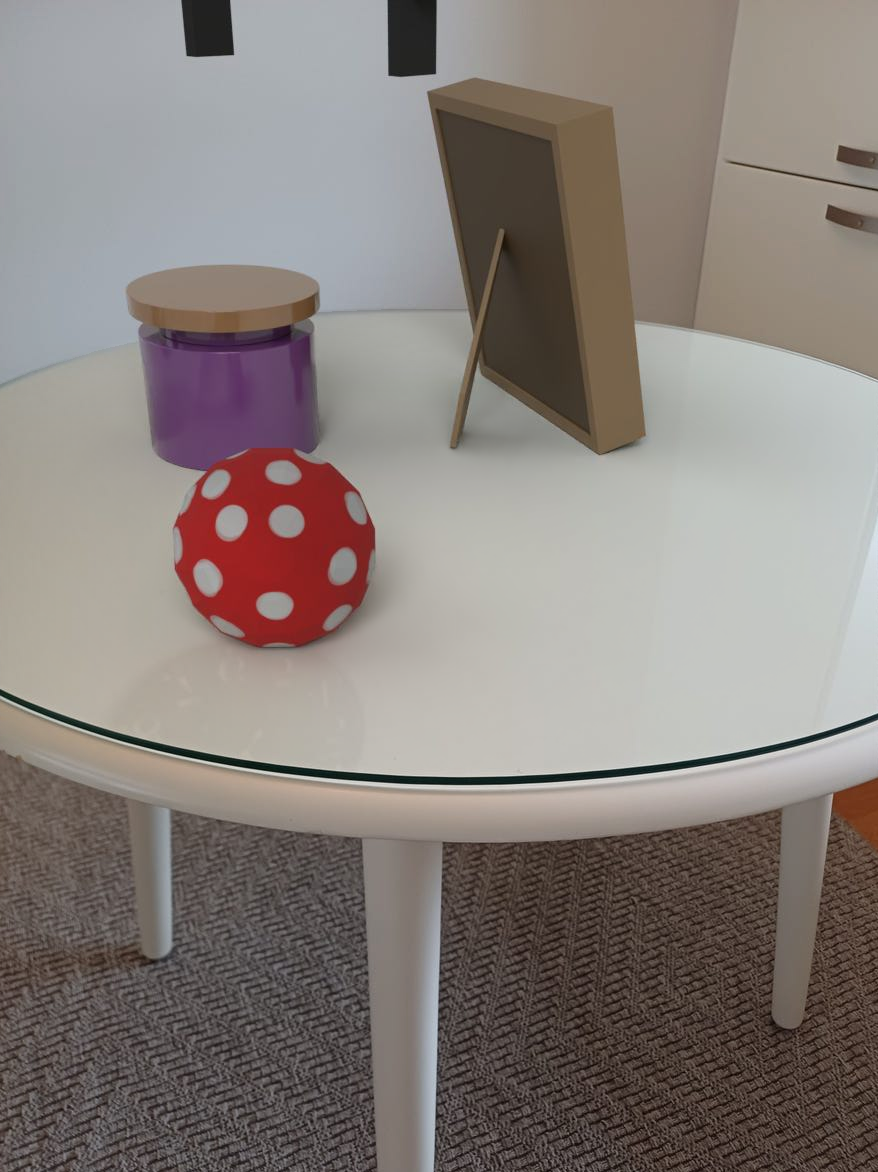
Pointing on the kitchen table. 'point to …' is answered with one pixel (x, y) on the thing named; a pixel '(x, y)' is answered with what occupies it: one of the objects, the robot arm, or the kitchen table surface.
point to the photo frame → (542, 255)
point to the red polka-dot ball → (274, 547)
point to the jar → (227, 360)
